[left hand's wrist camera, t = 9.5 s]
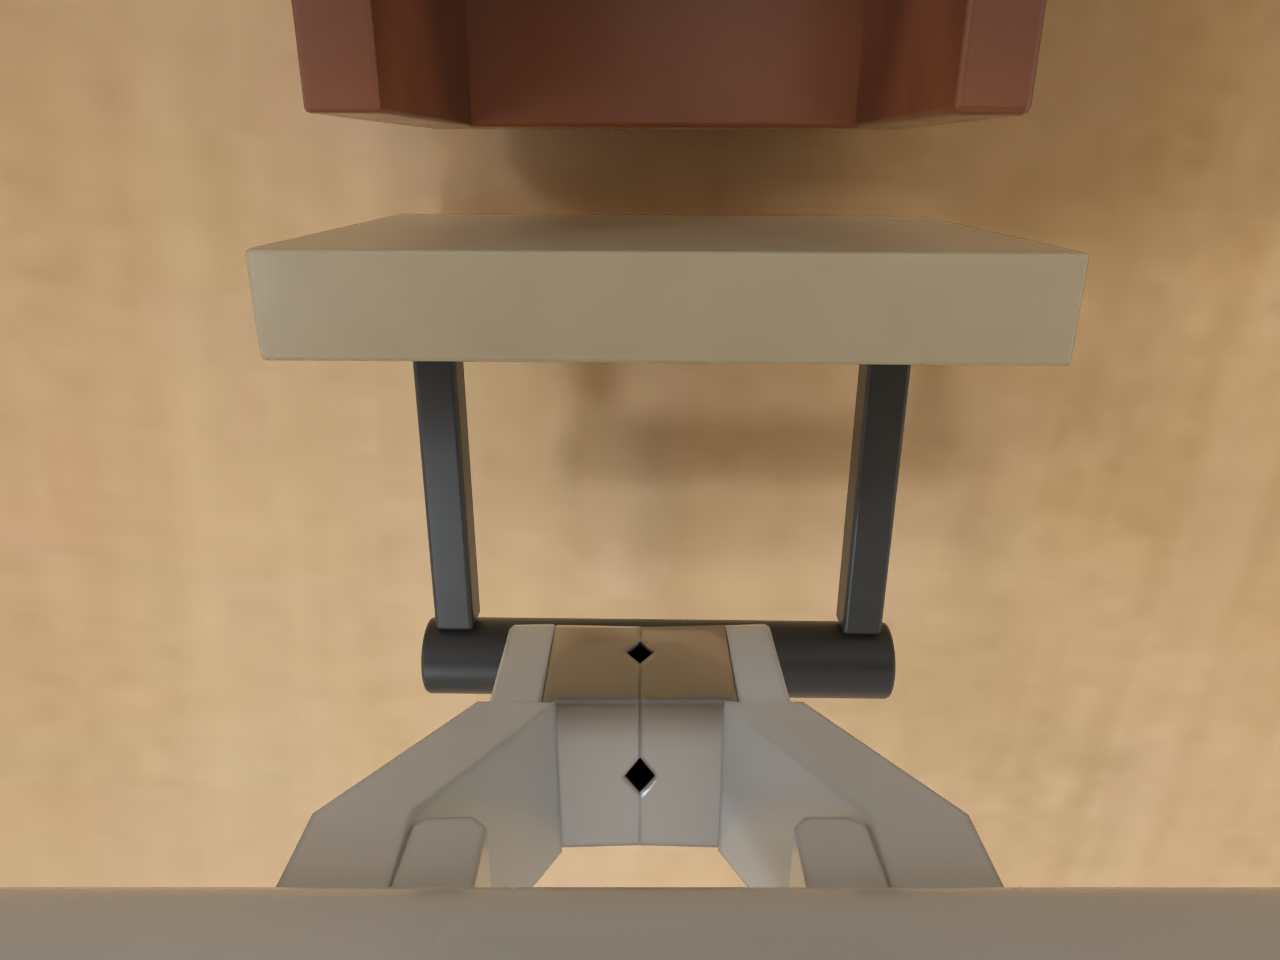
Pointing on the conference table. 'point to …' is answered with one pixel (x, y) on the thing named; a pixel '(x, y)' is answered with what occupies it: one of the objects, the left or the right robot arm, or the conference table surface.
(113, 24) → the conference table surface
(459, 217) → the drawer
